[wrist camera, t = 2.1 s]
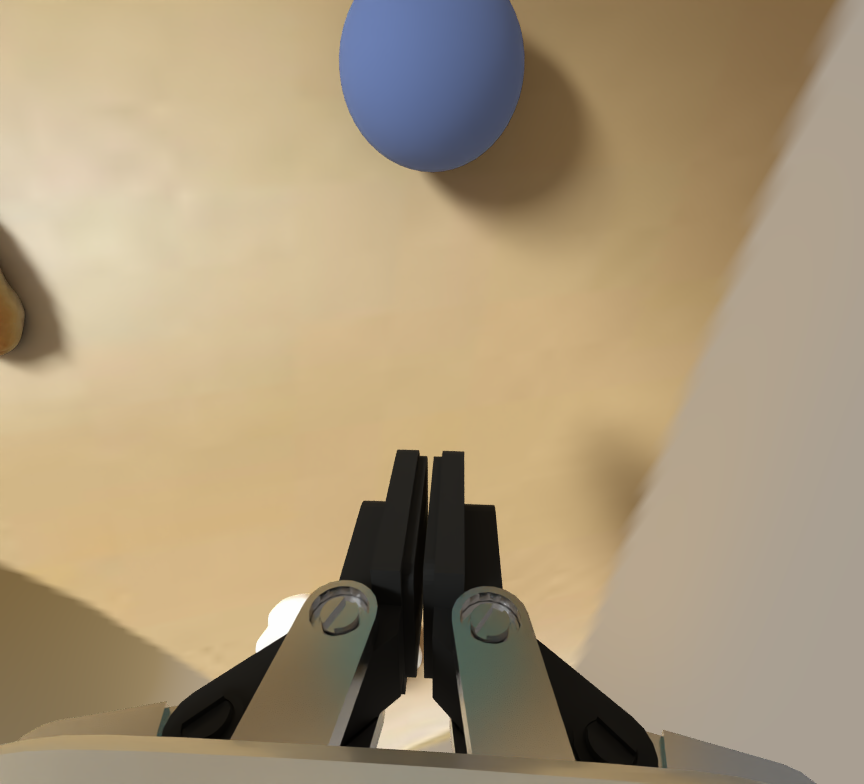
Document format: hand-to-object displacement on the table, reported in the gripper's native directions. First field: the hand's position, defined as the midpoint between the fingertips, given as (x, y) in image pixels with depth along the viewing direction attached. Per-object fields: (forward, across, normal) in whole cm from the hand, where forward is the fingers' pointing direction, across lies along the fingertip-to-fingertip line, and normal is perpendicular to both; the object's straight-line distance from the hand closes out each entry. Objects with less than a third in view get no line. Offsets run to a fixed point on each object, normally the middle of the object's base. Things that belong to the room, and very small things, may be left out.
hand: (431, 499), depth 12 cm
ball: (+8, 0, -10) cm, 13 cm away
